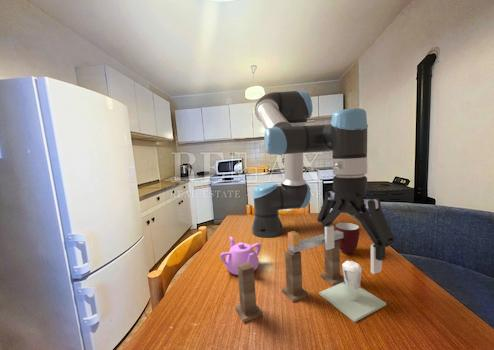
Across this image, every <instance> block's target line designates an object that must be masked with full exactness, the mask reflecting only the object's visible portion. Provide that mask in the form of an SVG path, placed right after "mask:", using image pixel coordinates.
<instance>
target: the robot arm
mask: <svg viewBox="0 0 494 350" xmlns="http://www.w3.org/2000/svg"><path fill="white" fill-rule="evenodd" d="M254 114H255V116H256V119H257V120H258V121H259V122H260V123H262V125H263V127H264V129H265V131H264V140H263V141H264V148H265V151H266V153H267V154H268V155H278V156H281V155H284V156H283V157H284V166H283V167H284V177H283V179H282V180H281V185H278V183H276V182H269V183H268V182H267V183H264V184H260V185H256V186H255V187H254V188H253V197H252V198H253V209H254V211H253V212H254V218H253V223H252V227H251V232H252V234H253V235H254V236H257V237H260V238H273V237H278V236H280V235H281V234H283V232H284V226H283V224H282V222H281V217H280V216H279V211H282V210H284V211H285V210H299V209H303V208H307V206H309V204H310V202H311V195H312V193H311V187H310V185H309V184H307V181H306V180H305V178H304V154H305V153H321V152H331V153H332V157H331V158H332V174H333V175H334V176H333V177H332V190H330V191H325V193H324V201H323V203H322V205H321V208H320V211H319V214H318V216H317V219H316V220H317V222H318V223H321V225H322V230H323V233H322V234H324V236H325V249H326V250H330V249H333V248H334V231H335V225H333V224H334V223H333V222H334V221H335V220H336V219H337V218H338V216H340V214H341V213H344V214H349V215H351V216H354V217H355V218H356V219H357V220H358V221H359V223H360V224H361V225H362V227H363V229H364V230H365V232H366V233H367V235H368V237H369V238H370V240H371V241H372V242H373V243H372V244H370V273H371V274H372V275H376V274H377V273H378V274H379V273H380V272H383V271H382V269H383V260H385V259H386V248H387V247H391V246H393V245H395V244H396V240H395V237H394V235H393V233H392V230H391V228H390V227H389V224H388V222H387V220H386V217H385V215H384V213H383V210H382V205H381V204H382V203H381V200H380V199H379V198H374V199H368V198H367V196H366V194H367V192H368V177H367V176H366V175H367V174H368V127H369V124H368V121H367V120H368V119H367V118H368V117H367V111H366V110H365V109H363V108H358V107H357V108H356V107H355V108H347V109H341V110H337V111H334V112H333V113H332V116H331V121H330V123H328V124H316V125H315V124H313V125H307V123H308V119H310V118H312V115H313V101H312V97H311V96H310V94H309V92H307V91H304V90H293V91H292V90H291V91H275V92H269V93H266V94H264V95H262V96H261V97H260V98H259V99H258V100H257V101H256V103H255V106H254ZM334 203H335V204H334Z"/></svg>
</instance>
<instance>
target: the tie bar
mask: <svg viewBox="0 0 494 350" xmlns="http://www.w3.org/2000/svg"><path fill="white" fill-rule="evenodd" d="M341 238H343V232H340V231H338V230H336V231H335V230H334V241H335V240H338V239H341ZM287 244H288V250H290V251H292V252H293V253H296V252H302V251H305V250H309V249H312V248H315V247H318V246H321V245H324V244H325V236H324V234H323V233H322V234H319V235H314V236H312V237H307V238H305V239H301V240H300V233H299V232H296V231H294V230H292V231H288V232H287Z"/></svg>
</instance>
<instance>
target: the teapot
mask: <svg viewBox="0 0 494 350" xmlns="http://www.w3.org/2000/svg"><path fill="white" fill-rule="evenodd" d="M228 238H229V240H230V248H229V251H224V252H221V253H220V254H219V257H220V260H221V261H222V263H223V264H224V265H225V268H226V270H227V271H228V272H229V273H230V274H232V275H235V276H238V266H237V265H239V264H243V263H246V262H249V263H250V264H251V265H252V266H253V267H254V272H255V271H256V270H257V269H258V268H259V265H260V261H259V257H258V256H259V253H260V251H261V248H262V244H261V243H260V242H256V243H254V244H252V245H250V244H249V243H244V242H242V241H240V242H238V243H235V240H234V237H232V236H231V235H229V237H228ZM254 248H256V250H255V249H254Z"/></svg>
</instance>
